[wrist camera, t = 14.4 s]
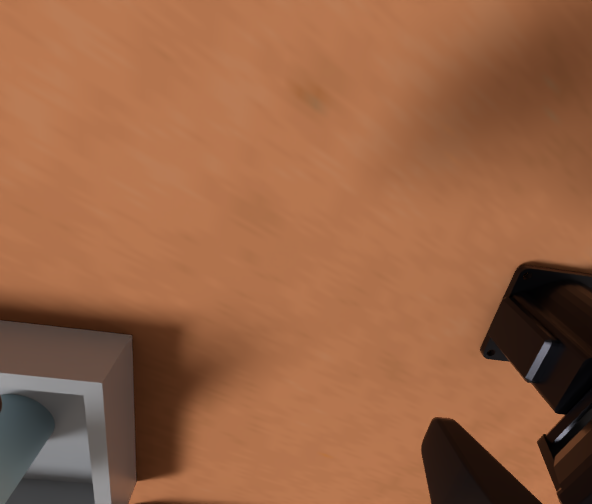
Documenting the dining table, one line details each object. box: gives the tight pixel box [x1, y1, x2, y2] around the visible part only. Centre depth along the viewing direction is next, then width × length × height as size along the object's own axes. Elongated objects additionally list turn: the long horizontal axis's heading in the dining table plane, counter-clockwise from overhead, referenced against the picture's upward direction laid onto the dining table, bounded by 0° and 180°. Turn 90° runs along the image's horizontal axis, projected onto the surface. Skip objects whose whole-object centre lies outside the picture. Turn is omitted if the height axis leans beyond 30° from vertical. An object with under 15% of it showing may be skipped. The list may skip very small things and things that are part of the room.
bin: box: [0, 320, 136, 504], centre depth 23 cm, size 14×14×4 cm
